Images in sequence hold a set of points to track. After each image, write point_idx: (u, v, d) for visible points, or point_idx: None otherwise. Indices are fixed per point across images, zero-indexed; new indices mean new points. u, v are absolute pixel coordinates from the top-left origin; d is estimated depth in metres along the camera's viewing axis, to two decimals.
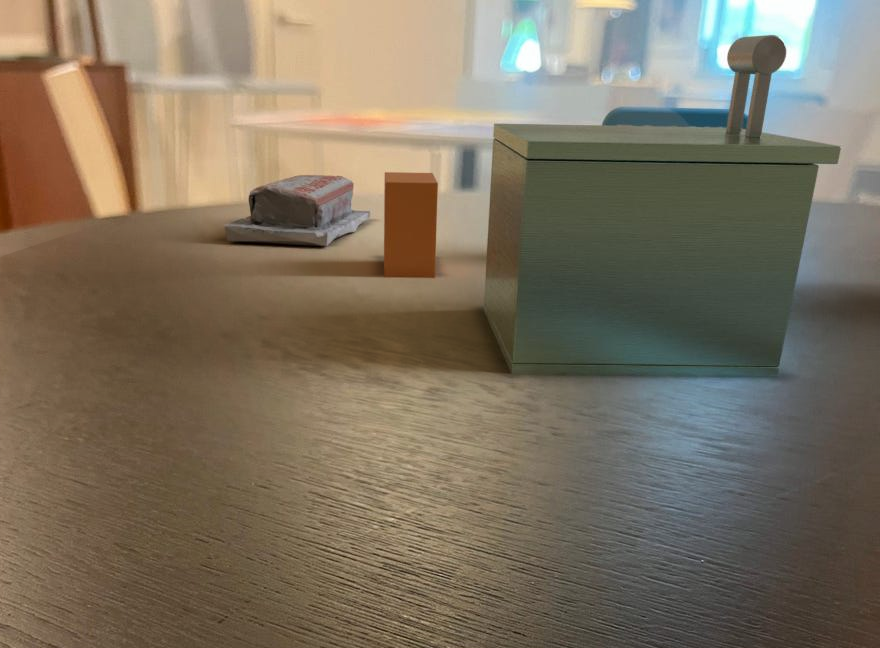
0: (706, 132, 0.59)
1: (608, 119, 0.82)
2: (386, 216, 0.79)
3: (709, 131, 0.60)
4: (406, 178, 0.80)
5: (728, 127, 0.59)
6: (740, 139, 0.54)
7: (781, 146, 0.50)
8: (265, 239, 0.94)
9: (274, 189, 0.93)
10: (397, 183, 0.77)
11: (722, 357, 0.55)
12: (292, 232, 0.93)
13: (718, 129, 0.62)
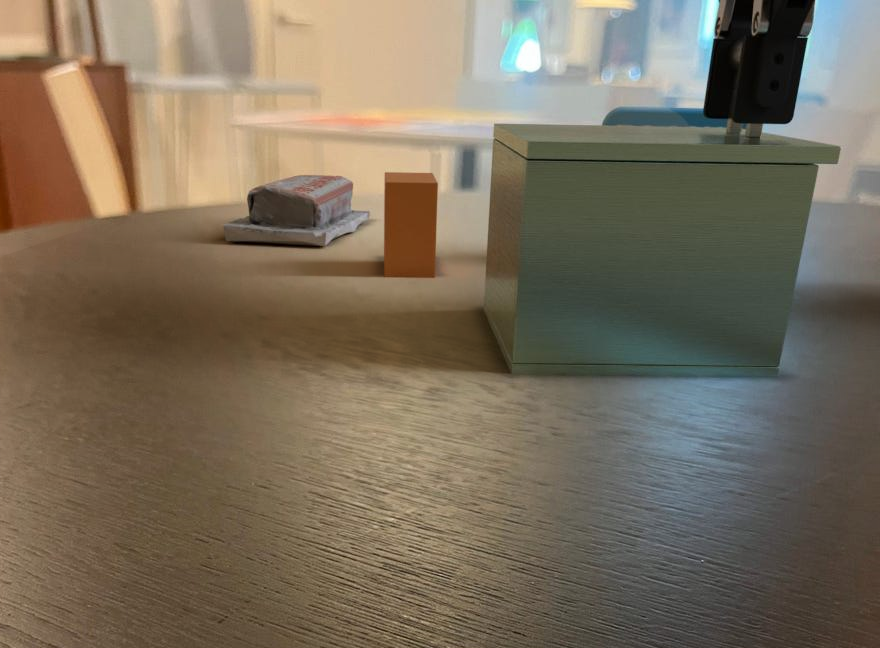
0: (706, 132, 0.59)
1: (608, 119, 0.82)
2: (386, 216, 0.79)
3: (709, 131, 0.60)
4: (406, 178, 0.80)
5: (728, 127, 0.59)
6: (740, 139, 0.54)
7: (781, 146, 0.50)
8: (263, 238, 0.94)
9: (273, 189, 0.93)
10: (397, 183, 0.77)
11: (722, 357, 0.55)
12: (290, 232, 0.93)
13: (718, 129, 0.62)
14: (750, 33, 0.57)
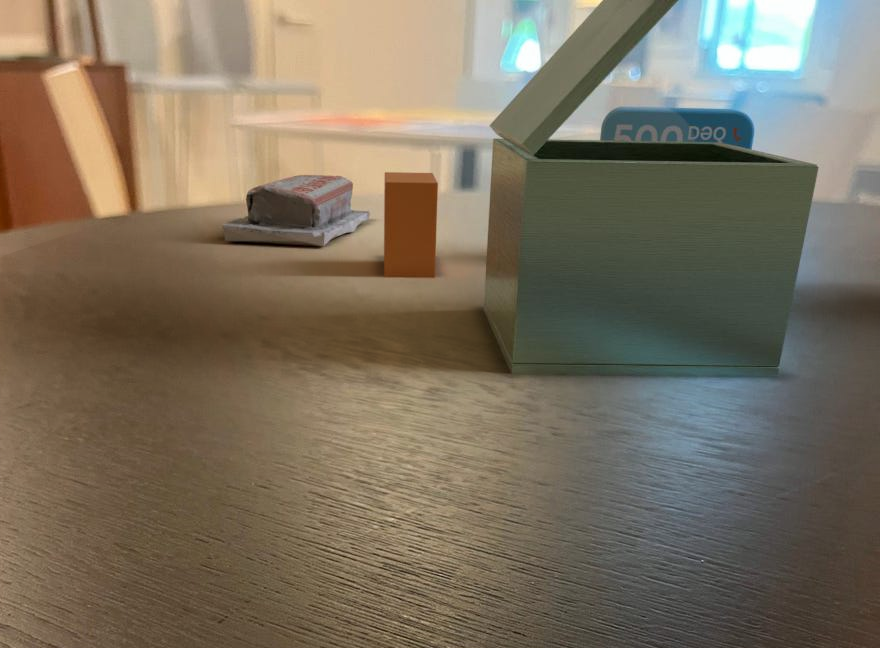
0: None
1: (608, 119, 0.82)
2: (386, 216, 0.79)
3: None
4: (406, 178, 0.80)
5: None
6: None
7: None
8: (262, 238, 0.94)
9: (271, 189, 0.93)
10: (397, 183, 0.77)
11: (722, 357, 0.55)
12: (289, 232, 0.93)
13: None
14: None
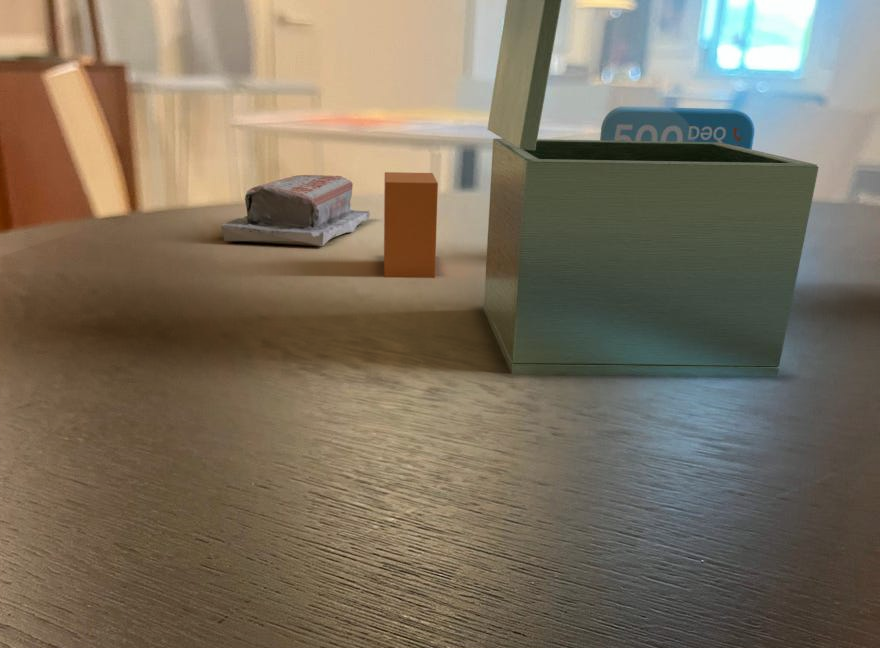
0: None
1: (608, 119, 0.82)
2: (386, 216, 0.79)
3: None
4: (406, 178, 0.80)
5: None
6: None
7: None
8: (261, 238, 0.94)
9: (270, 189, 0.93)
10: (397, 183, 0.77)
11: (722, 357, 0.55)
12: (288, 232, 0.93)
13: None
14: None
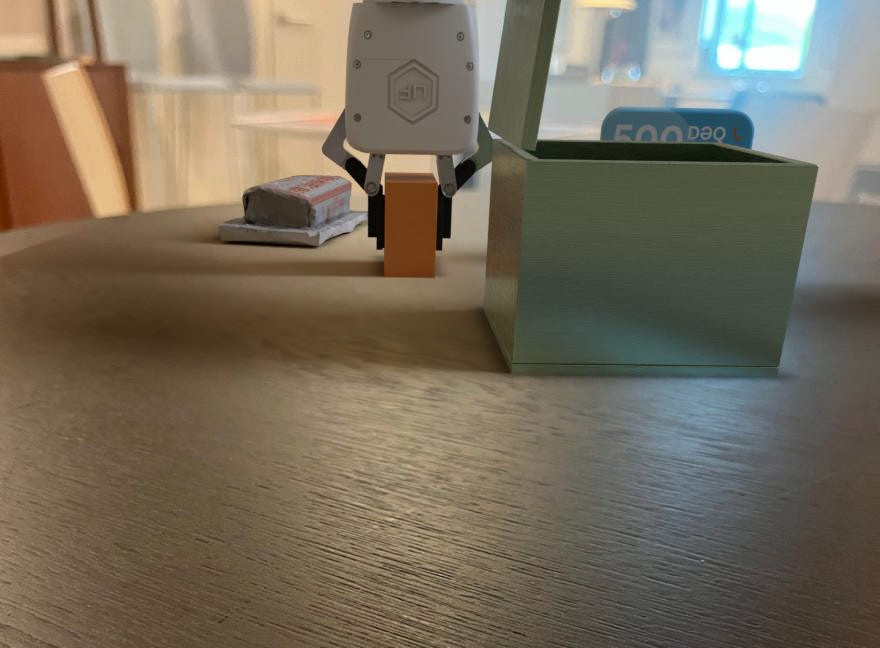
0: None
1: (608, 119, 0.82)
2: (386, 216, 0.79)
3: None
4: (406, 178, 0.80)
5: None
6: None
7: None
8: (258, 238, 0.94)
9: (267, 189, 0.93)
10: (397, 183, 0.77)
11: (722, 357, 0.55)
12: (285, 232, 0.93)
13: None
14: None
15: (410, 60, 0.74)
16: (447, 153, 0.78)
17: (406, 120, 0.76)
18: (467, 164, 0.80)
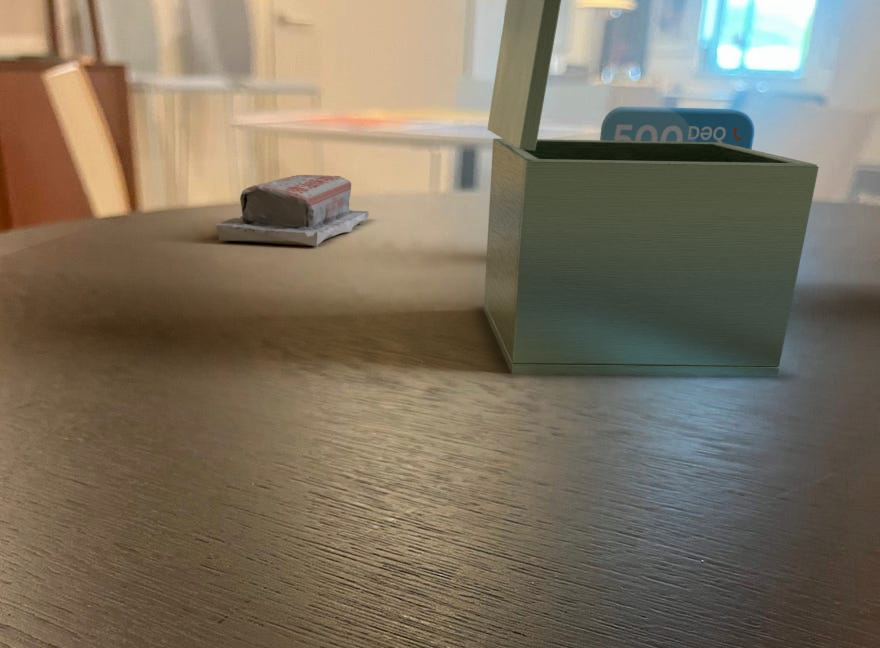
0: None
1: (608, 119, 0.82)
2: None
3: None
4: None
5: None
6: None
7: None
8: (256, 238, 0.94)
9: (265, 189, 0.93)
10: None
11: (722, 357, 0.55)
12: (282, 232, 0.93)
13: None
14: None
15: None
16: None
17: None
18: None
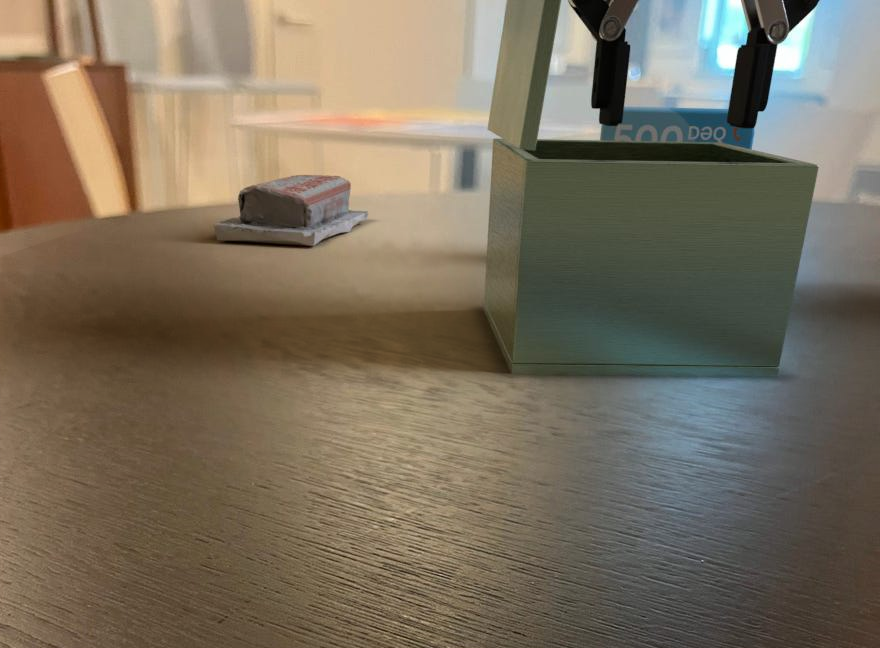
0: None
1: None
2: None
3: None
4: None
5: None
6: None
7: None
8: (253, 238, 0.94)
9: (263, 189, 0.93)
10: None
11: (722, 357, 0.55)
12: (280, 232, 0.93)
13: None
14: (752, 38, 0.55)
15: None
16: None
17: None
18: None
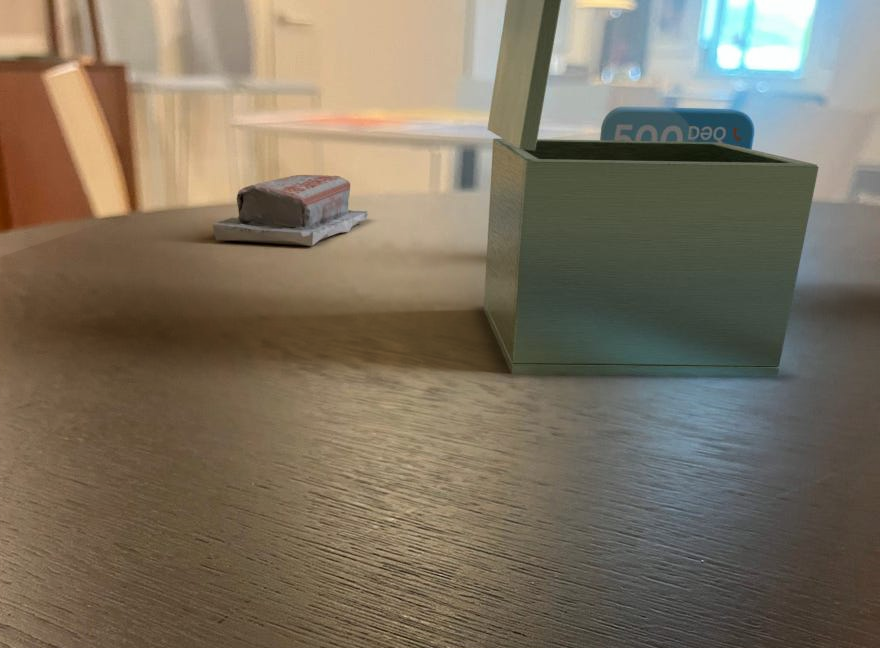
0: None
1: (608, 119, 0.82)
2: None
3: None
4: None
5: None
6: None
7: None
8: (252, 238, 0.94)
9: (262, 188, 0.93)
10: None
11: (722, 357, 0.55)
12: (278, 231, 0.93)
13: None
14: None
15: None
16: None
17: None
18: None
